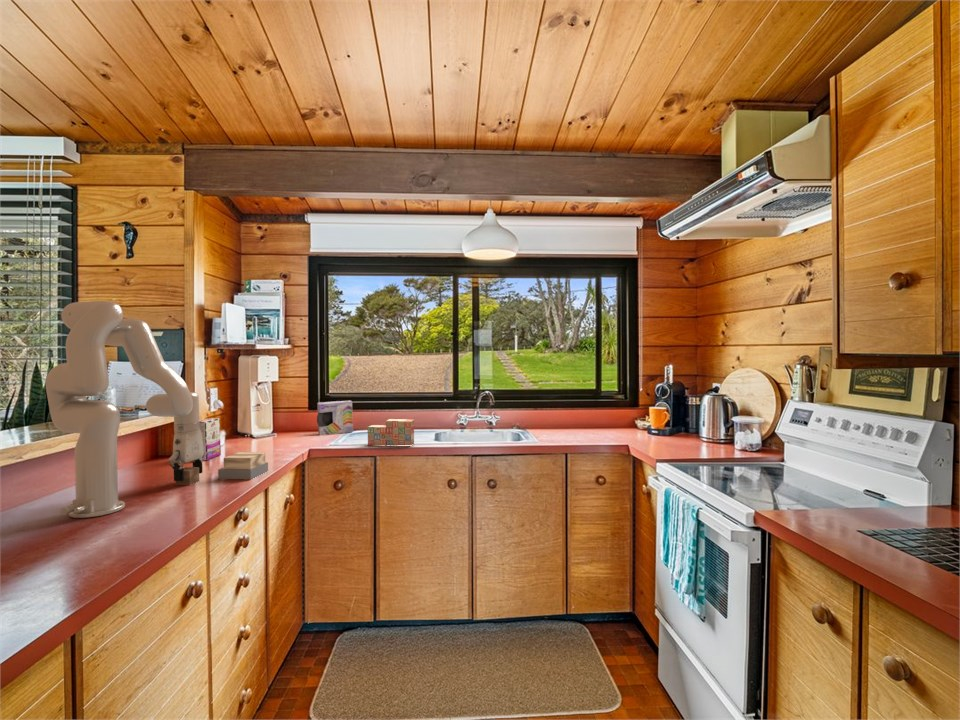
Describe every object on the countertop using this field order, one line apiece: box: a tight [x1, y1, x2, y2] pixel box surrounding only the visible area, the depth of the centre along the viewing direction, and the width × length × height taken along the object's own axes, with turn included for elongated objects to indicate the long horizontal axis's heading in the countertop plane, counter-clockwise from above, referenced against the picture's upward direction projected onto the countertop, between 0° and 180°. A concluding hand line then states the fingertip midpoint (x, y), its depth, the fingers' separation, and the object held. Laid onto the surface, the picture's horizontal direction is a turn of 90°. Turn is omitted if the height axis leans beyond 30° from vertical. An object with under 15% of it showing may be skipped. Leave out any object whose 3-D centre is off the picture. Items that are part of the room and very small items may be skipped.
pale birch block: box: [223, 451, 266, 469], centre depth 179 cm, size 10×10×4 cm
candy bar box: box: [199, 417, 222, 461], centre depth 209 cm, size 11×5×16 cm, turn 0°
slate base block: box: [217, 461, 269, 480], centre depth 179 cm, size 12×12×4 cm
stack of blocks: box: [367, 418, 415, 446], centre depth 235 cm, size 21×6×12 cm, turn 83°
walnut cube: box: [175, 466, 200, 486], centre depth 169 cm, size 5×5×5 cm
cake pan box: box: [316, 400, 354, 436], centre depth 269 cm, size 19×5×18 cm, turn 119°
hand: (188, 476), depth 169 cm, fingers open, 9 cm apart
